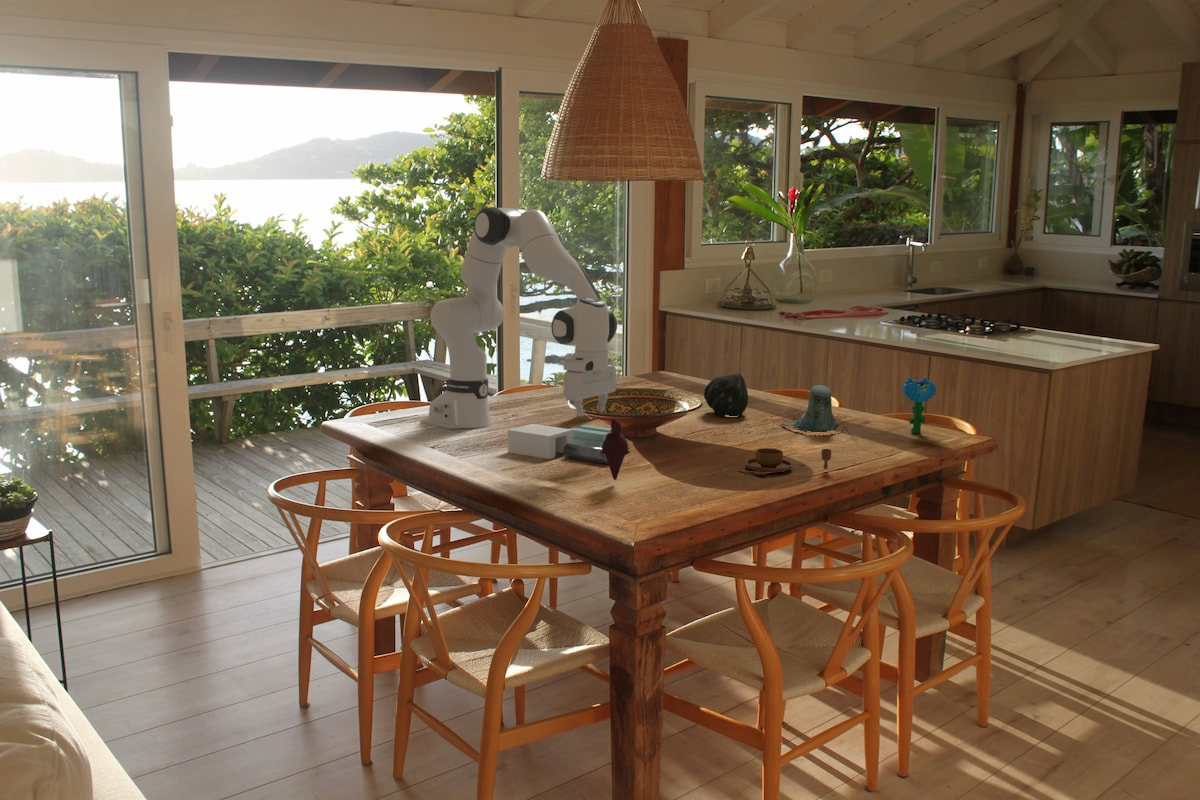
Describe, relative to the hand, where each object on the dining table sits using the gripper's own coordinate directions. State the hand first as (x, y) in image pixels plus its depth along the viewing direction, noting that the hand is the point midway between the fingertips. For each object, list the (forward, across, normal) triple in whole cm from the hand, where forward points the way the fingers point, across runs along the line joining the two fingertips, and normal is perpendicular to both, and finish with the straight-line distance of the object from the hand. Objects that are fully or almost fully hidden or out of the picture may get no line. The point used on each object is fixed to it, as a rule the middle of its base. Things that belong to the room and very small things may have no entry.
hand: (590, 413), depth 272 cm
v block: (+13, -16, -9) cm, 22 cm away
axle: (+13, 0, 0) cm, 13 cm away
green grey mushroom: (+15, -73, +32) cm, 81 cm away
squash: (+13, -73, +4) cm, 74 cm away
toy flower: (+13, -79, +63) cm, 102 cm away
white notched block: (+13, 0, -16) cm, 21 cm away
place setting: (+13, -20, +46) cm, 52 cm away
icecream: (+13, +14, +17) cm, 25 cm away
